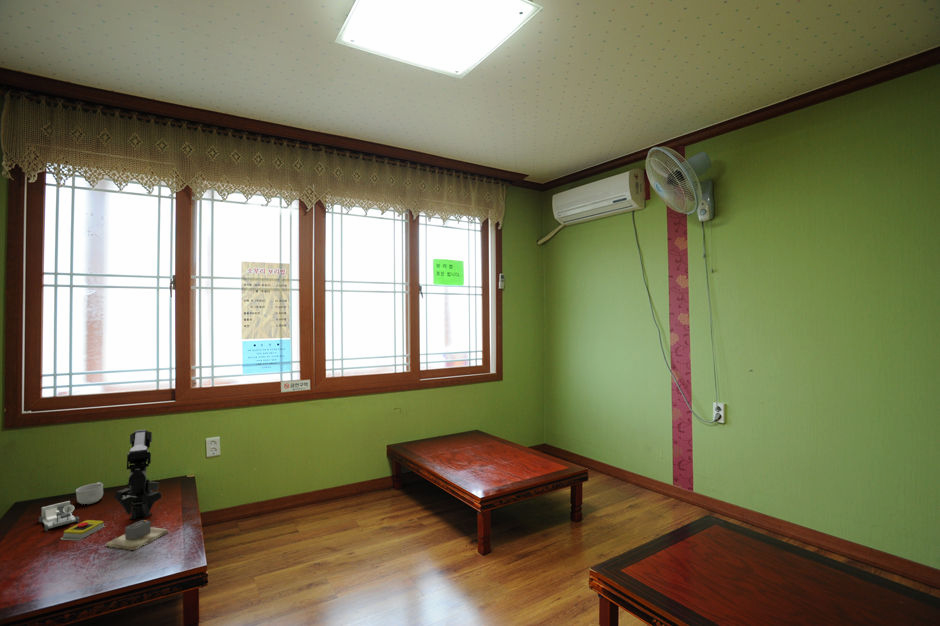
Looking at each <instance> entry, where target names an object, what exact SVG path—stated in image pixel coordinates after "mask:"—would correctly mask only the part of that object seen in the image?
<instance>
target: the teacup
mask: <svg viewBox="0 0 940 626" xmlns="http://www.w3.org/2000/svg"><path fill="white" fill-rule="evenodd" d="M75 494H76V495H75V496H76V501H77V503H78V504H81V505H83V504H84V505H85V504H87V505H91V504H95V503H97V502H99V501H100V499H102V497H103V496H104V484H103V483H102V482H99V481H98V482H96V483H90V484H86V485H82V486H80V487H78V488H76V489H75Z"/></svg>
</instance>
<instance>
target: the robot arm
mask: <svg viewBox="0 0 940 626" xmlns="http://www.w3.org/2000/svg"><path fill="white" fill-rule="evenodd" d="M152 440H153V433H152V432H151V431H148V429H139V430H135V431H133V433H131V434H130V435H129V445H131V448H129V452H128V453H127V455H126V471H127V470H129V476H128V482H127V486H129V487H126V488H123V489H121V490H118V491H116V493H115V494H114V499H116V500H117V502H118V503H119V504H120V505H121V507H122V508H123V509H124V510H125V512H126V514H127V515H131V516H128V517H129V519H132V520H137V519H139V521H140V519H141V520H143V519H145V518H148V517H150V516H152V514H153V513H152V512H151V509H152V507H153V505H154V504H155V503H156V502H158V501H159V500H160V499H162V492H160V491H158V489H159V486H160V482H157V481H156V482H155V481H150V478H149V479H148V478H147V467H148V468H149V466H150V465H151V463H152V462H151V461H152V459H151V458H152V453H151V451H150V450H148V449H150V447H151V443H152V442H153V441H152ZM152 490H153V491H152ZM142 518H143V519H142Z"/></svg>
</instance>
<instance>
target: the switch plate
mask: <svg viewBox="0 0 940 626" xmlns="http://www.w3.org/2000/svg"><path fill="white" fill-rule="evenodd" d="M141 524H143V522H140V523H138V524H136V525H134V526H133V527H134V528H135V527H137V526H139V525H141ZM168 532H169V531H168V529H166V528H160V527H159V528H158V527H152V526H150V533H149V534H147V535H145V536H143V537H141V538H139V539H137V540H135V541H132V540H126V539H125V533H124V534H122V535H120V536H119V537H115V538H114V539H112V540H110V541H108V542H106V547H107V546H109V547H108V548H112V547H116V548H115V549H118V548H123V549H122V550H124V549H129V550H128V551H131V550H135V549H136V548H138V547H140V546H142V545H144V544H146V543H148V542H150V541H151V542H153V541H155V540H157V539H159V538H160V536H161V537H162V535H163V536H164V534H165V535H166V534H168ZM158 537H159V538H158ZM156 538H157V539H156ZM154 539H155V540H154ZM152 540H153V541H152ZM151 542H150V543H151ZM148 544H149V543H148ZM146 545H147V544H146ZM144 546H145V545H144ZM142 547H143V546H142ZM140 548H141V547H140ZM138 549H139V548H138ZM136 550H137V549H136ZM136 550H135V551H136Z"/></svg>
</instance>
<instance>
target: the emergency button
mask: <svg viewBox="0 0 940 626" xmlns="http://www.w3.org/2000/svg"><path fill="white" fill-rule="evenodd" d="M104 524H105V523H104V521H103V520H94V519H93V520H91V519H86V520H84V521H82V522H81V521H80V522H79V523H76V524H75V525H73V526H71V527H69V528H68V529H65V530H63V536H62V537H61V538H60V539H61V541H81V540H83V539H85V538H87V537H88V536H90V534H91V535H92V533H93V534H95V533H97V532H98V531H101V530H102V529H103V527H104V528H105V526H104ZM101 528H102V529H101ZM60 539H59V540H60Z"/></svg>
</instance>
